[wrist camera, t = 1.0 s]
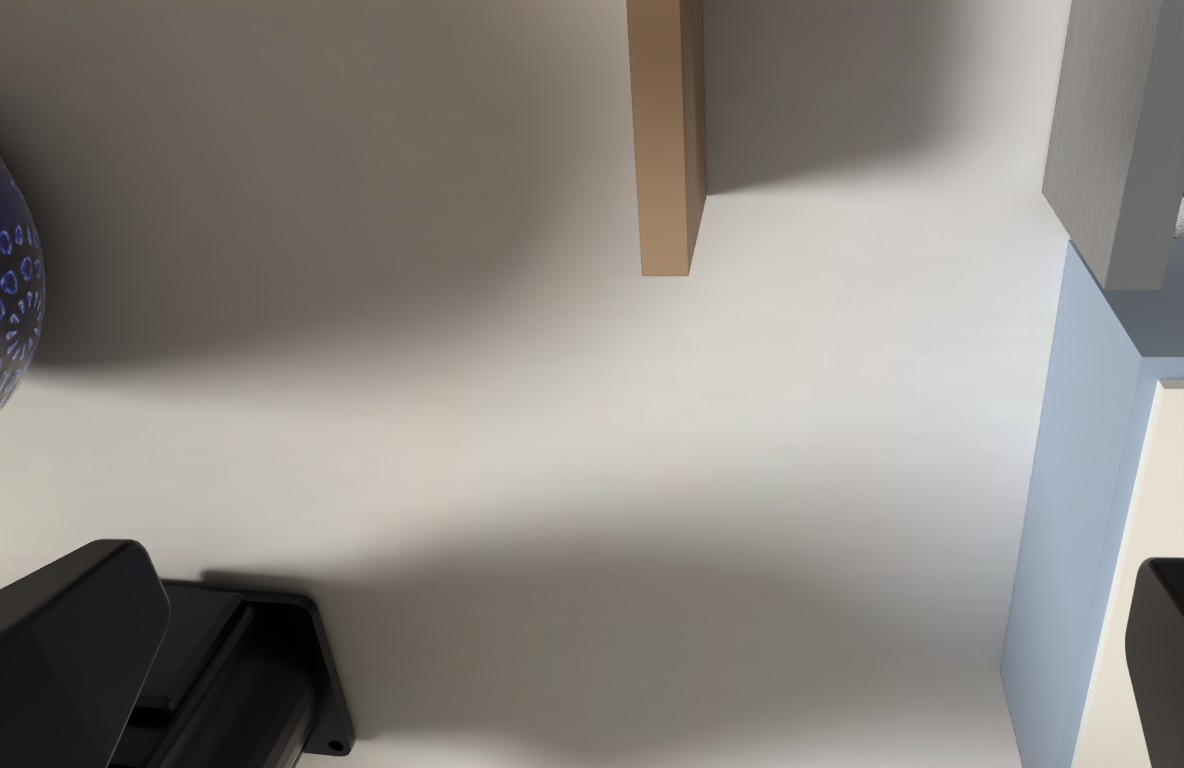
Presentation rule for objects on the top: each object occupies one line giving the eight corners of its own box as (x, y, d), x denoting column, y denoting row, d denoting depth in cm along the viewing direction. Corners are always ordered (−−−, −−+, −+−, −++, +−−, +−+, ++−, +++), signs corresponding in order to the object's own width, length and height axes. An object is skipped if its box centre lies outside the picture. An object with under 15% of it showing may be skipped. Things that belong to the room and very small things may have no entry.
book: (1166, 677, 25) (1249, 871, 20) (998, 667, 25) (1042, 852, 21) (1291, 231, 19) (1448, 367, 14) (1066, 236, 19) (1147, 366, 15)
